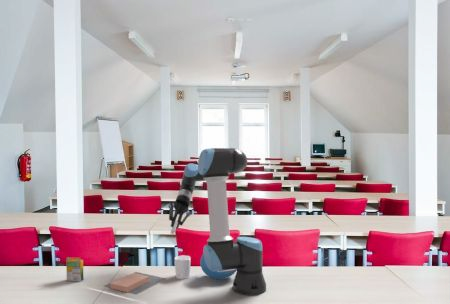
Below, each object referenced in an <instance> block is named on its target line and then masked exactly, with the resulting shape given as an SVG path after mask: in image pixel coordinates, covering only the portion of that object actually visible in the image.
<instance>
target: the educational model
mask: <svg viewBox="0 0 450 304" xmlns="http://www.w3.org/2000/svg"><path fill="white" fill-rule="evenodd" d="M199 263H200V267H201V270H202V271H203V273H204V274H205V275H206V276H208V277H209V278H210V279H214V280H223V279H228V278H230V277H231V276H233V275H234V274H236V273H237V269H230V270H223V271H215V272H213V271H211V270H209V269H208V267H207V265H206V263H205V260H204V255H203V254H202V255H201V257H200V261H199Z"/></svg>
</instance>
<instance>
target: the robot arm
mask: <svg viewBox="0 0 450 304" xmlns="http://www.w3.org/2000/svg"><path fill="white" fill-rule="evenodd" d="M198 157H199V158H198V161H197V164H196V163H193V162H192V163H188V164H186V165H185V167H184V170H183V175H182V180H181V183H180V187H179V191H178V193H177V195H176V198H175V201H174V202H171V201H170V203H169V204H168V208H169V209H168V210H169V212H168V214H169V215H168V221H171V224H170V227H171V230H170V235H174V234H175V233H176V230H178V229H179V227H180V226H183V225H184V223H185V222H186V220H187V218H189V217H190V216H191V215H192V214H193V212H192V211H190V209H189V207H190V203H191V199H192V196H193V193H194V190H195V187H196V183H197V182H206V191H207V206H208V220H209V222H208V223H209V238H208V239H207V240H206V242H207V244H205V245H204V246H203V250H202V253H203V254H202V255H204V260H205V263H206V265H207V267H208V269H209V270H211V271H213V272H215V271H223V270H230V269H237V270H236V272H235V276H234V280H233V283H232V290H233V291H234V292H235V293H238V294H239V295H245V296H256V295H261V294H263V293H265V292H266V290H267V283H266V280H265V277H264V274H263V252H264V251H263V243H262V241H261V240H260V239H258V238H254V237H250V236H238V237H237V238H236V240H235V241H234V237H232V236H231V235H230V225H229V223H230V222H229V221H230V220H229V210H228V209H229V208H228V207H229V206H228V195H227V181H228V179H229V177H230V175H231V174H238V173H241V172H243V171H244V170H245V169H246V168H247V166H248V157H247V156H246V154H245V153H244V151H243V150H241V149H238V148H234V147H231V148H229V147H226V148H224V147H223V148H221V147H219V148H218V147H215V148H214V147H211V148H205V149H202V151H201V152H200V153H199V155H198ZM185 213H186V214H185ZM184 214H185V216H184V217H183V215H184ZM182 218H183V219H182Z"/></svg>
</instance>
